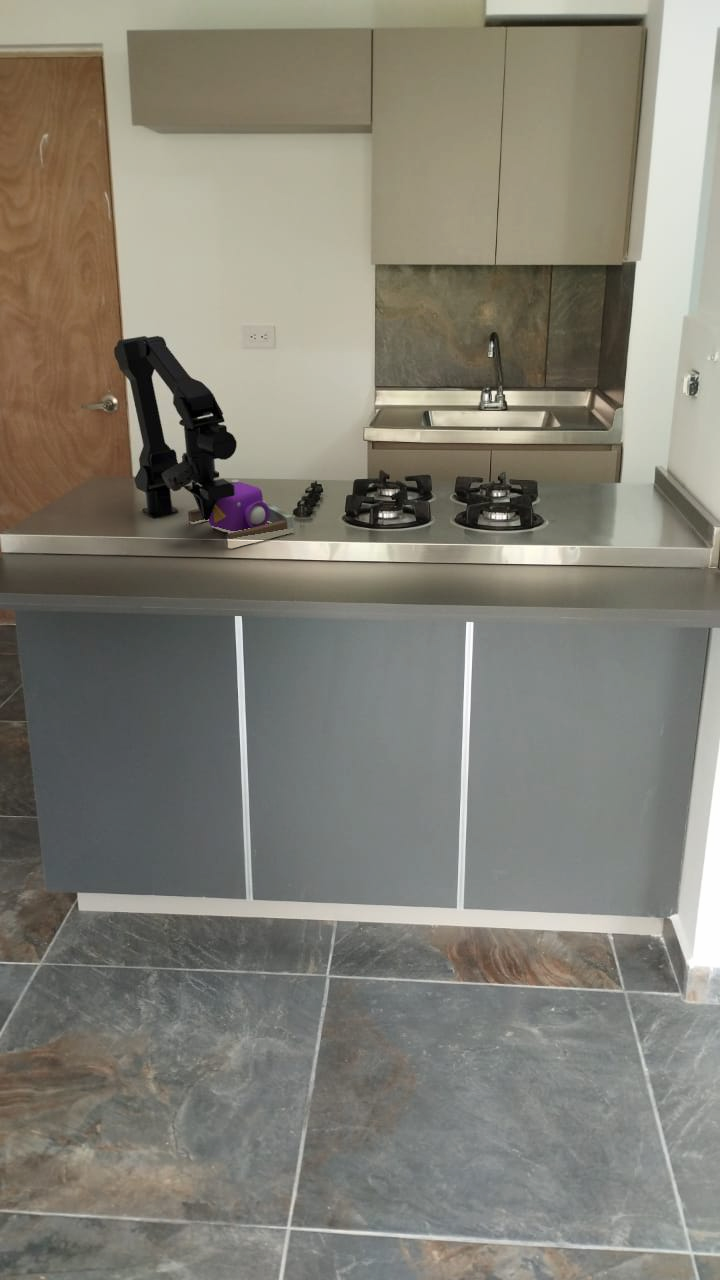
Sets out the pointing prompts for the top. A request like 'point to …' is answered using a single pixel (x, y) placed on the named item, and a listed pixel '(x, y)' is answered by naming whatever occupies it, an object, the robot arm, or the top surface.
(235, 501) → the toy camera
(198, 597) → the top surface
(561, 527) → the top surface
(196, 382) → the robot arm
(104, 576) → the top surface
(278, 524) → the walnut dock
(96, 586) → the top surface
